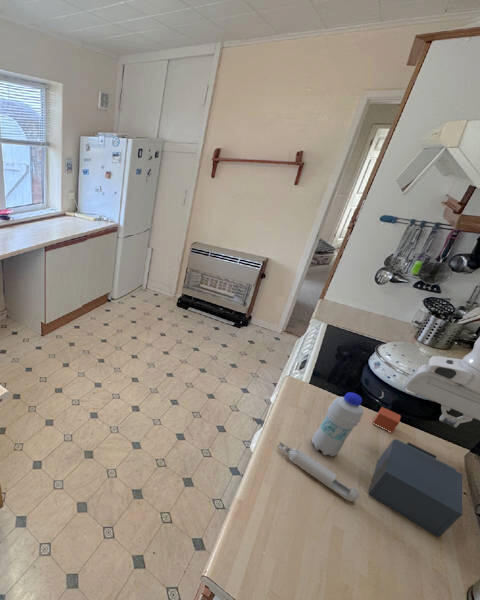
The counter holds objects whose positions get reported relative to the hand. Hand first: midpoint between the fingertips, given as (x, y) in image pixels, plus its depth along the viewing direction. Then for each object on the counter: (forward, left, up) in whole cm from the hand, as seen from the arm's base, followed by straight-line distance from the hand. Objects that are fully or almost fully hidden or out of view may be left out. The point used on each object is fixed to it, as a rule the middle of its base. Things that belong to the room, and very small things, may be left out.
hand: (447, 422), depth 79 cm
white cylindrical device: (+29, -3, -17) cm, 34 cm away
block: (-9, -13, -17) cm, 23 cm away
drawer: (+6, +3, -16) cm, 17 cm away
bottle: (+19, -9, -17) cm, 28 cm away
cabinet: (+10, +6, -17) cm, 21 cm away
